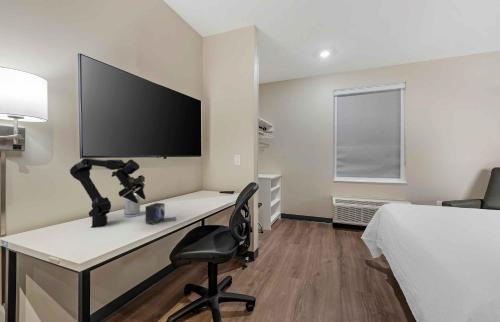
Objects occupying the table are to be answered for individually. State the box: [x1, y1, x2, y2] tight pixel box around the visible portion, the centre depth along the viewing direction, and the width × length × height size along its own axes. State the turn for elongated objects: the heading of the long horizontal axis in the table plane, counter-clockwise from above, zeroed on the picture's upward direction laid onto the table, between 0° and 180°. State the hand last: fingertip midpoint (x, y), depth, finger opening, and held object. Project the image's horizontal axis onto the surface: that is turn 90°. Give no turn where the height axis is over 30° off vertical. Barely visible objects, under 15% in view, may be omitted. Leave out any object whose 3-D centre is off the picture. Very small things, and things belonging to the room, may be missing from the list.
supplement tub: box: [123, 193, 141, 218], centre depth 140 cm, size 10×10×15 cm
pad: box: [161, 216, 177, 223], centre depth 132 cm, size 8×8×1 cm
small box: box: [144, 202, 166, 225], centre depth 127 cm, size 11×6×10 cm, turn 168°
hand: (141, 200), depth 118 cm, fingers open, 9 cm apart
